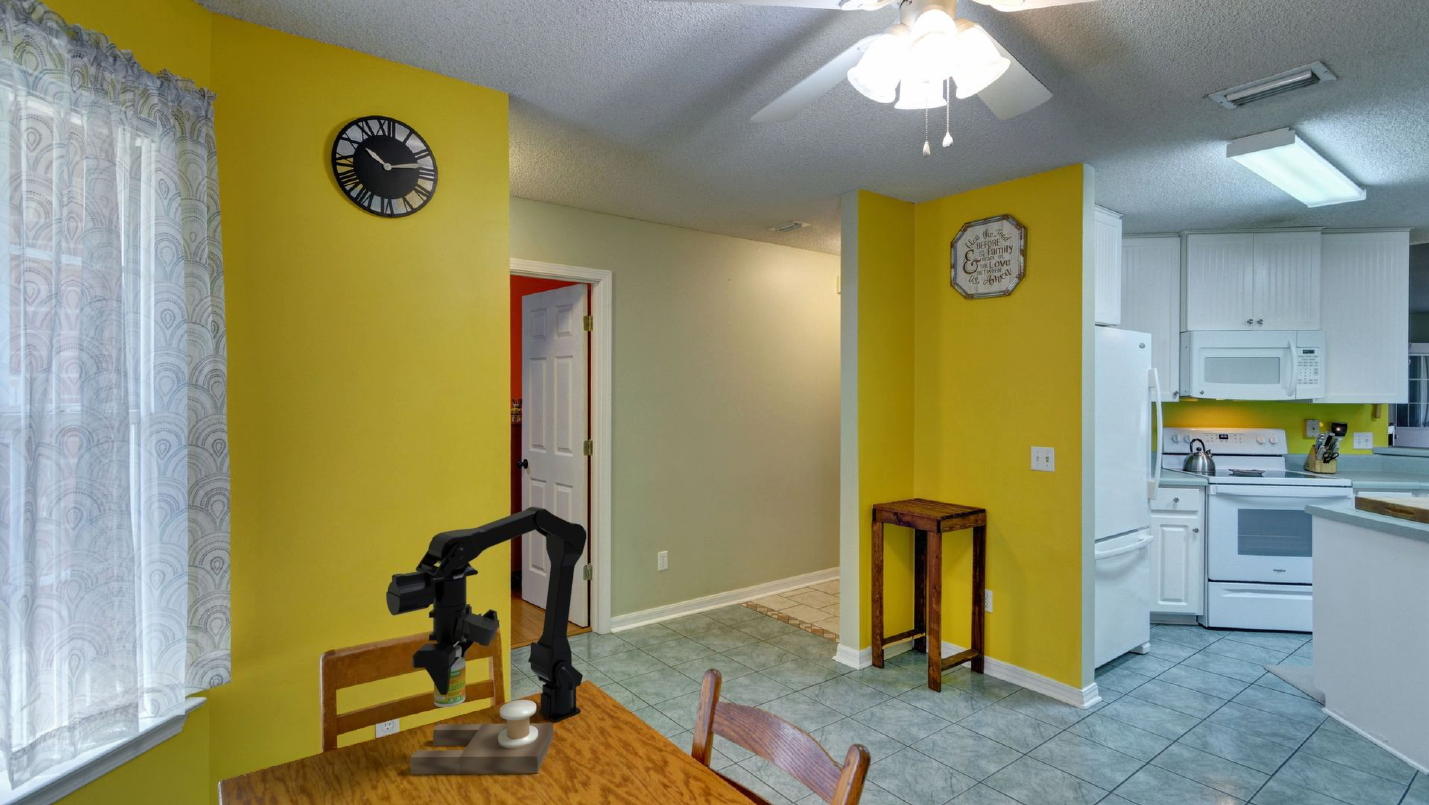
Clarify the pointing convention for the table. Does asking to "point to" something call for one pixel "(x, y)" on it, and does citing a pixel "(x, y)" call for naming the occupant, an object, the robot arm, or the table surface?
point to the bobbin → (518, 725)
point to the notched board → (480, 751)
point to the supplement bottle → (453, 684)
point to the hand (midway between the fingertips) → (450, 687)
